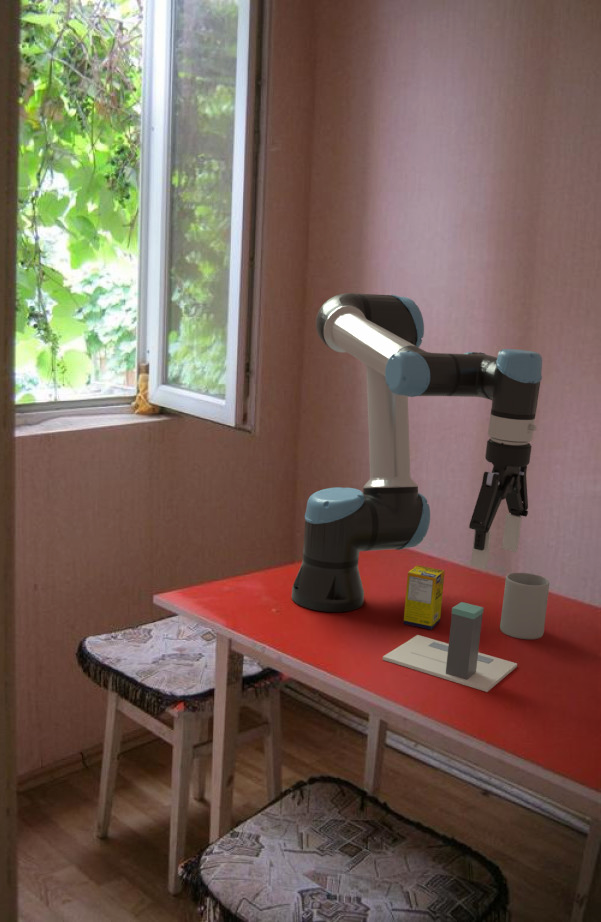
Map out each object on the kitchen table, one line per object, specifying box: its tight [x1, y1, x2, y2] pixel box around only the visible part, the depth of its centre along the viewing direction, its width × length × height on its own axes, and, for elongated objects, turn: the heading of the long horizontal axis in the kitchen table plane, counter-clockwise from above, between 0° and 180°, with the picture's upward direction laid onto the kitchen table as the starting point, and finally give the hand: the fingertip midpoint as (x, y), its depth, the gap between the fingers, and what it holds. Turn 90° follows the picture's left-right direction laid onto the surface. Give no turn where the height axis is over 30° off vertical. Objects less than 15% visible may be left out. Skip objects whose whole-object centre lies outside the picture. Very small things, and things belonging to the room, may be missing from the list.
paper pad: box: [382, 634, 518, 693], centre depth 172 cm, size 20×14×1 cm
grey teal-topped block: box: [446, 601, 484, 680], centre depth 165 cm, size 4×4×12 cm
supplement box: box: [403, 564, 446, 630], centre depth 190 cm, size 6×6×11 cm
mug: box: [499, 572, 550, 640], centre depth 191 cm, size 12×8×11 cm
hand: (494, 558), depth 168 cm, fingers open, 13 cm apart
